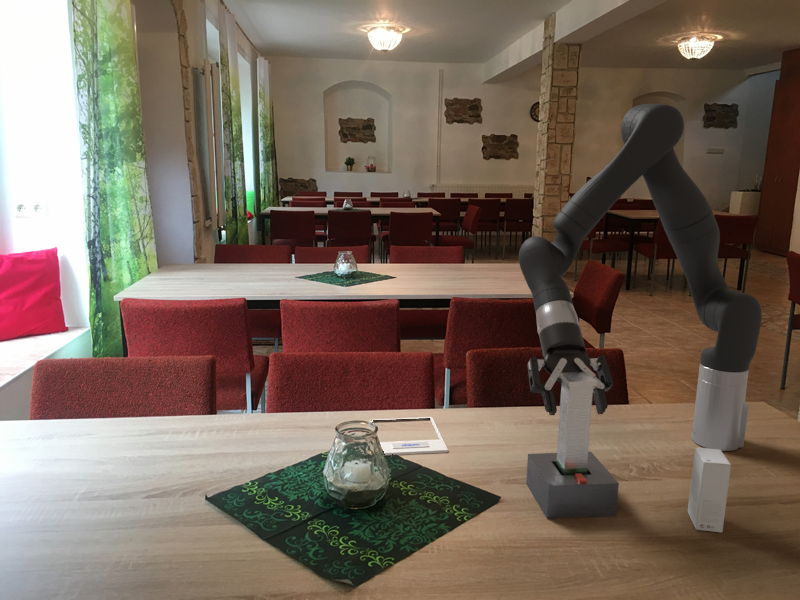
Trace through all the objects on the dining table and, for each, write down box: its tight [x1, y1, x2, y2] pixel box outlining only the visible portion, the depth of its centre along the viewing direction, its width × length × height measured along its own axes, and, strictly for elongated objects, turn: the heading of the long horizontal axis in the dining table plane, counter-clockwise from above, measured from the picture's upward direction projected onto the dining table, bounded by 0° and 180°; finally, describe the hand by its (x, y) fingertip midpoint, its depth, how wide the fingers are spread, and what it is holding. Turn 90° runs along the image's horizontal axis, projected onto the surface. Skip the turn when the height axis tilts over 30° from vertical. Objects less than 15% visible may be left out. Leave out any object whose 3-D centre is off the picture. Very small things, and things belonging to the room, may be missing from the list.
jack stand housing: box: [525, 451, 620, 520], centre depth 112 cm, size 12×12×6 cm
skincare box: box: [687, 446, 732, 533], centre depth 105 cm, size 6×4×12 cm
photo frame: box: [369, 416, 449, 456], centre depth 139 cm, size 15×1×18 cm
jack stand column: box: [556, 372, 597, 475], centre depth 110 cm, size 5×5×17 cm
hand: (577, 413), depth 108 cm, fingers open, 8 cm apart
